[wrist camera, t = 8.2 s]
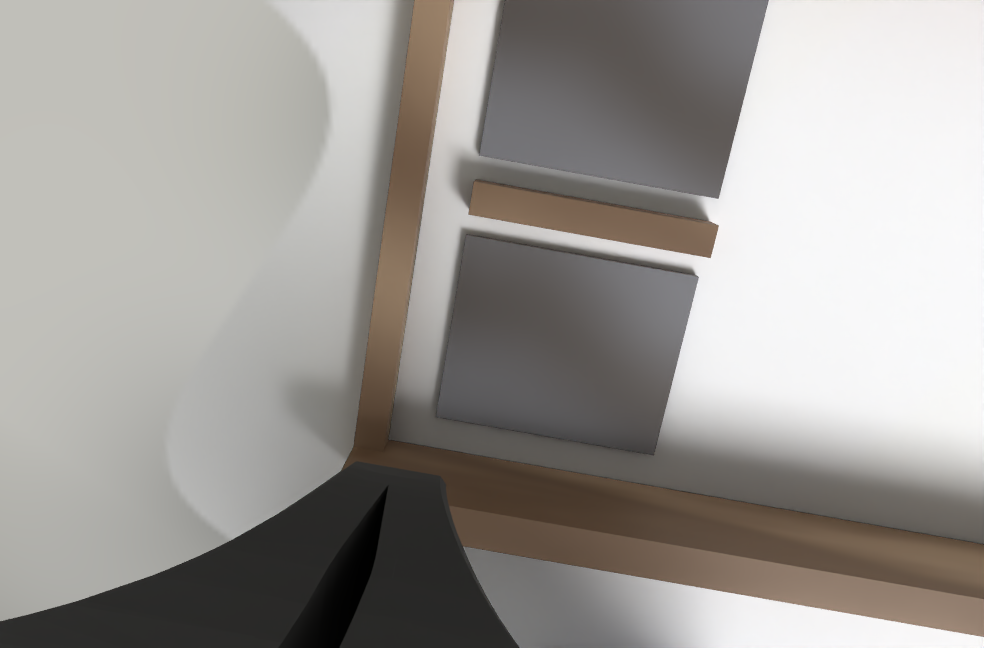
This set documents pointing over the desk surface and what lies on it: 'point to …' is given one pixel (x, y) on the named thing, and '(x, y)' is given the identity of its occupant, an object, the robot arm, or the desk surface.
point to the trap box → (609, 316)
